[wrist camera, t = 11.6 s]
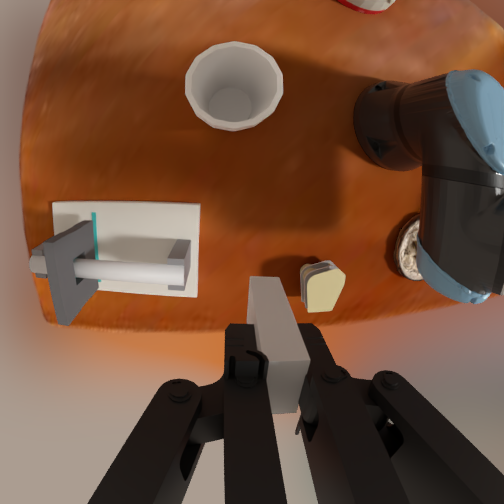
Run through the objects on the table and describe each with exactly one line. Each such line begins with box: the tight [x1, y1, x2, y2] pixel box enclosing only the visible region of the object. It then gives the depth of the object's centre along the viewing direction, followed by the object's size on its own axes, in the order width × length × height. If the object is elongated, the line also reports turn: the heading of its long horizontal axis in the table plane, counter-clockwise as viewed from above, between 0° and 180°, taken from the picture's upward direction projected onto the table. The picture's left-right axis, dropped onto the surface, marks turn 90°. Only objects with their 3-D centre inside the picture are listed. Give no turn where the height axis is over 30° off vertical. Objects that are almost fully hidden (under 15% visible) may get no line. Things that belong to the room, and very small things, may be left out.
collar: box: [43, 220, 99, 326], centre depth 29 cm, size 10×2×11 cm, turn 175°
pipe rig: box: [29, 201, 201, 297], centre depth 34 cm, size 14×24×11 cm, turn 85°
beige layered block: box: [300, 260, 346, 312], centre depth 42 cm, size 10×9×6 cm
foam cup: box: [185, 41, 283, 132], centre depth 29 cm, size 10×9×13 cm
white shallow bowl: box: [393, 208, 423, 281], centre depth 43 cm, size 15×15×4 cm
